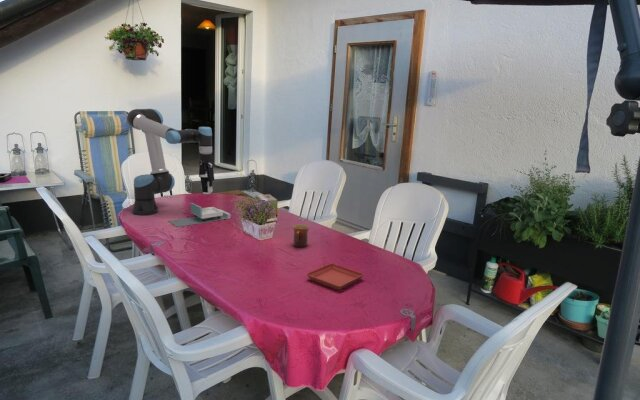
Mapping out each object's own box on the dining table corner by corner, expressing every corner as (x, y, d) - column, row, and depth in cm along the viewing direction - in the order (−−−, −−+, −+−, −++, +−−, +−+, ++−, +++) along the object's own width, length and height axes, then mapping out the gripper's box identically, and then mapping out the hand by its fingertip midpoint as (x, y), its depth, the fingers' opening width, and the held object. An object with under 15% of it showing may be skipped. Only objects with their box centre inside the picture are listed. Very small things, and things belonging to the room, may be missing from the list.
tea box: (254, 217, 273) (254, 194, 270) (270, 216, 277) (270, 193, 274) (262, 224, 260) (262, 200, 257) (277, 222, 264) (278, 199, 261)
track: (167, 221, 257) (167, 216, 256) (220, 213, 279) (219, 209, 278) (177, 227, 247) (177, 222, 246) (230, 218, 268) (230, 214, 268)
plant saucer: (331, 269, 197) (331, 262, 197) (364, 280, 186) (364, 273, 186) (305, 281, 184) (305, 273, 183) (339, 294, 173) (339, 286, 172)
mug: (294, 241, 231) (294, 223, 228) (310, 243, 229) (311, 225, 227) (288, 249, 219) (288, 230, 217) (305, 251, 218) (305, 231, 215)
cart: (190, 216, 266) (190, 202, 264) (212, 213, 275) (212, 199, 273) (200, 222, 256) (200, 207, 254) (222, 218, 265) (222, 204, 263)
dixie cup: (207, 195, 259) (206, 177, 256) (197, 193, 262) (196, 175, 260) (216, 192, 265) (216, 175, 263) (206, 191, 269) (206, 173, 267)
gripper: (192, 151, 263) (193, 188, 269) (208, 155, 248) (209, 194, 253) (203, 150, 268) (204, 186, 273) (219, 154, 253) (220, 192, 258)
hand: (206, 190), depth 263 cm, fingers closed on dixie cup, 8 cm apart
